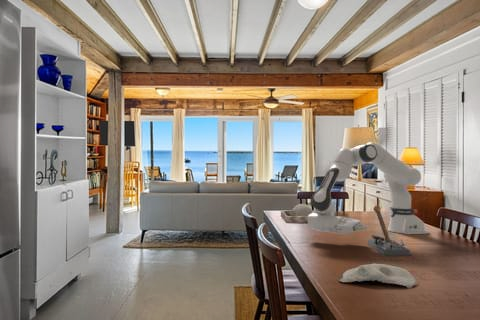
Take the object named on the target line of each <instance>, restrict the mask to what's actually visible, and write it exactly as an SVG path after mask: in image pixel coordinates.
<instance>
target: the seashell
mask: <svg viewBox="0 0 480 320" xmlns="http://www.w3.org/2000/svg"><path fill="white" fill-rule="evenodd" d="M291 211H292V213H291V214H292V216H308V215H309V214H311V213H312V212H313V211H314V210H313V209H312V207H310V206H309V204H305V203H299V204H297V205H295V206H294V207H293V208H292V209H291Z"/></svg>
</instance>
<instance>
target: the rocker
mask: <svg viewBox="0 0 480 320" xmlns="http://www.w3.org/2000/svg"><path fill="white" fill-rule="evenodd" d="M371 239H377V240H378V239H381V241H384V239H385V237H384V236H379V235H375V234H371Z"/></svg>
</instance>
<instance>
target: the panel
mask: <svg viewBox="0 0 480 320" xmlns="http://www.w3.org/2000/svg"><path fill="white" fill-rule="evenodd" d="M390 241H391V242H392V245H391V246H390V243H388V242H386V241H385V238H384V241H381V239H378V240H377V239H373V238H370V239H369V238H368V239H367V245H368V246H370V247H371V248H373V249H375V250H376V251H377V252H378V253H380V254H382V255H383V256H410V255H411V249H409V248H408V247H405V248H404V249H403V248H402V244H401V243H399V242H396V241H394V240H393V239H392V240H390Z"/></svg>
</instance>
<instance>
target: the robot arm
mask: <svg viewBox="0 0 480 320" xmlns="http://www.w3.org/2000/svg"><path fill="white" fill-rule="evenodd" d="M368 163H370V164H372V165H373V166H374V167H375V168H377V169H378V170H379V171H381V172H382V173H383V177H384V179H385V181H386V183H387V184H388V187H389V190H390V198H391V200H390V201H391V202H390V204H391V205H390V209H389V216H390V219H389V224H388V228H387V231H389V232H392V233H398V234H404V235H422V234H423V235H427V234H429V233H430V232H429V230H428V229H425V223H424V221H423V220H421V219H420V218H419V217H418V216H416V215H415V214H418V210H417V209H413V208H412V194H411V192H409V190H408V188H407V186H408V187H411V186H416V185H418V184H419V183H420V182H421V180H422V174H421V172H420V171H419V170H418V169H417V168H415V167H412V166H410V165H408V164H407V163H405V162H404V161H402V160H400V159H398V158H397V157H395V156H393V155H392V154H391V153H390V152H389V151H388V150H386V148H384V147H383V146H381V145H380V144H378V143H375V141H369V142H367V143H363V144H361V145H356V146H354V147H352V148H350V149H348V148H345V147H344V148H341V149H339V150H338V151H337V153H336V154H335V156H334V157H333V160H332V162H331V165H330V167H329V169H328V170H327V171H326V173H325V175H324V177H323V179H322V181H321V182H320V184H319V186H318V188H317V190H316V191H315V192H314V193H313V194H312V195H311V198H310V203H311V205H312V207H313V209H314V210H312V211H313V212H312V213H311V214H309V215H308V217H307V223H306V224H307V225H308V227H309V229H310V230H313V231H317V232H322V233H325V232H329V233H331V234H339V235H341V234H346V235H350V234H353V233H355V232H356V231H366V230H367V225H365V224H364V225H362V221H361V220H359V219H356V218H351V217H346V216H342V215H341V216H339V215H335V214H336V212H337V207H336V204H335V203H334V202H333V200H332V197H331V196H332V195H331V194H332V193H331V192H332V190H333V188H334V186H335V183H336V182H344V181H346V180H347V179H348V178H349V177H350V175H351V171H352V169H353V168H354V167H357V166H363V165H365V164H368Z"/></svg>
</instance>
